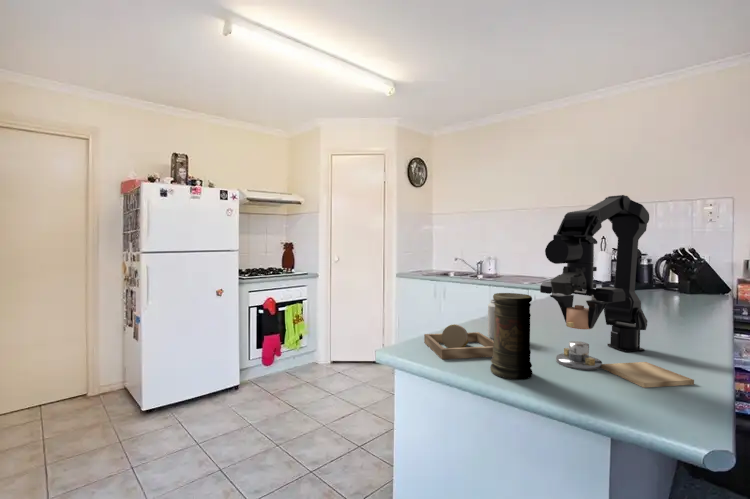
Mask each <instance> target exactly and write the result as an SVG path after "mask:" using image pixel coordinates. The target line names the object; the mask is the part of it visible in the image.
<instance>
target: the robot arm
mask: <svg viewBox="0 0 750 499" xmlns="http://www.w3.org/2000/svg"><path fill="white" fill-rule="evenodd" d="M607 220H608V221H609V222H610V223H611V229H612V232H613V233H614V234H615V236H616V238H617V247H616V260H615V275H614V287H611V286H610V287H609V286H605V287H603V286H602V287H597V283H594V272H597V270H598V269H597V266H594V263H595V262H594V260H595V258H594V256H595V255H594V253H595V251H594V250H595V249H594V248H595V245H597V244H598V241H597V239H596V238H594V236H595V234H597V233H598V232H599V231H600V230H601V228H602V223H603V222H605V221H607ZM649 222H650V213H649V211H648V210H647V209H646V207H645V206H644V205H643V204H641V203H639V202H636V201H635V200H632V199H631V198H630V197H629V195H625V194H621V195H619V194H618V195H610V196H609V195H608V196H606V197H605V198H604V199H603V200H600V201H599V202H597V203H596V204H594V205H592V206H591V207H588V208H587V209H581V210H574V211H573V210H572V211H569V212H567V213H566V214H565V215H564V217H563V218H562V221H561V223H560V225H559V227H558V229H557V231H556V233H555V234H553V237H552V238H553V239H552V240H550V241H549V242H548V243H547V244H546V247H545V250H544V252H545V257H546V259H547V260H548V261H549V262H551V263H552V264H556V265H559V264H561V265H562V264H566V265H565V266H563V268H562V273H561V274H558V275H556V276H555V277H553V278H552V279H550V281H542V282H541V283H540V286H539V288H540V289H539V292H540V293H543V294H550V295H549V297H551V298H553V299H554V300H555V301H556V302H557V303H558V306H559V308H560V310H561V314H562V316H563V318H564V322H565V323H566V315H567V307H574V305H573V304H574V296H575V295H580V296H586V297H587V296H588V297H591V299H588V300H585V301H586V302H585V303H586V305H587V306H588V308H589V316H588V325H589V328H590V329H589V330H592V329H593V328H594V327H595V325H596V323H597V322H598V319H599V317H600V316H601V314H602V312H603V313H604V314H603V315H604V319H605V324H606V325H607V326H611V330H610V343H607V346H608V347H611V348H614V349H616V350H619V351H621V352H643V351H645V350H646V349H645V348H643V347H640V346H641V331H647V327H648V319H647V317H646V316H645V313H644V311H643V309H642V302H641V300H640V298H639V297H638V295H637V292H636V291H635V290H636V277H637V276H636V275H637V264H638V263H637V262H638V252H639V251H638V250H639V249H638V248H639V240H640V238H642V236H643V235H644V234H645V233H646V231H647V228H648V227H647V226H648V223H649ZM591 328H592V329H591Z"/></svg>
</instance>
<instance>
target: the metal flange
mask: <svg viewBox="0 0 750 499" xmlns="http://www.w3.org/2000/svg"><path fill="white" fill-rule="evenodd" d="M555 361H556V363H557V364H558V363H559V365H560V364H561V366H562V365H563V367H565V366H566V368H569V367H570V368H569V369H573V368H574V369H575V370H578V369H581V371H598V370H597V369H599V370H601V369H602V368H601V364H603V361H602V360H600V359H599V358H596V357H594V356H590V344H589V343H588V342H584V341H580V340H571V341H569V342H568V347H565V348H563V353H560V354H557V355H556V356H555ZM574 369H573V370H574Z"/></svg>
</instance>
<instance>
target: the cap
mask: <svg viewBox="0 0 750 499" xmlns="http://www.w3.org/2000/svg"><path fill="white" fill-rule="evenodd" d="M588 316H589V307H585V305H582V304H575V305H574V306H572V307H567V315H566V322H565V326H566V327H567V328H570V329H574V330H575V329H576V330H592V329H593V328H591V329H590V328H589V325H588Z"/></svg>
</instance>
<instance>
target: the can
mask: <svg viewBox="0 0 750 499" xmlns="http://www.w3.org/2000/svg"><path fill="white" fill-rule="evenodd" d="M494 302H495V300H494V299H493V298H492V299H490V300H489V303H488V304H487V337H488V338H490V339H491V340H493V341H494V311H495V304H494Z"/></svg>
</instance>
